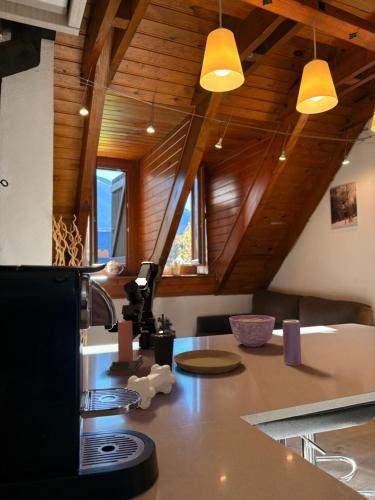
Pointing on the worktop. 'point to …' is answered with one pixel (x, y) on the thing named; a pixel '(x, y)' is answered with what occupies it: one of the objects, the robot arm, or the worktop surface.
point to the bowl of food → (252, 329)
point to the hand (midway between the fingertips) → (127, 344)
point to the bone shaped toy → (152, 383)
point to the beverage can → (291, 342)
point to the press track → (125, 367)
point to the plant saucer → (207, 361)
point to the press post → (125, 341)
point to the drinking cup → (163, 346)
